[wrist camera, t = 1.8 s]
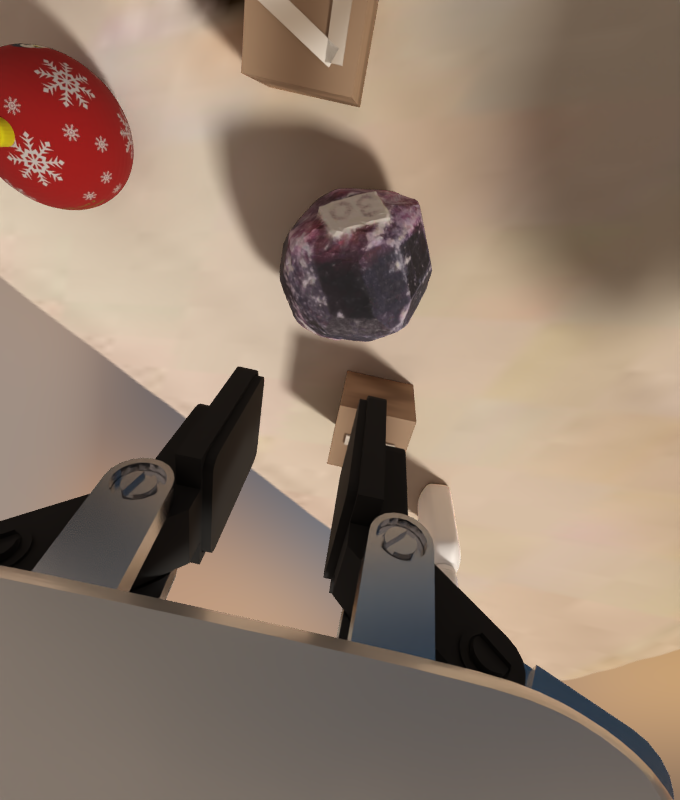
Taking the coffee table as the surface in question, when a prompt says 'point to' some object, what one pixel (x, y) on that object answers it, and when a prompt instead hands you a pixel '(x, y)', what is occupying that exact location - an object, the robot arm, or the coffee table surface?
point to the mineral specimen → (356, 264)
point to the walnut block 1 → (397, 418)
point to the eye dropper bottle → (441, 527)
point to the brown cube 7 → (309, 46)
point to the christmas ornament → (60, 130)
